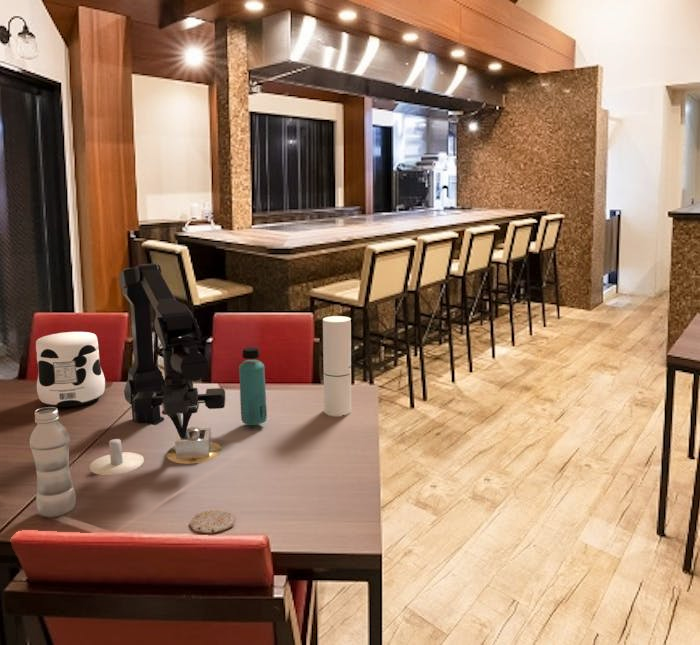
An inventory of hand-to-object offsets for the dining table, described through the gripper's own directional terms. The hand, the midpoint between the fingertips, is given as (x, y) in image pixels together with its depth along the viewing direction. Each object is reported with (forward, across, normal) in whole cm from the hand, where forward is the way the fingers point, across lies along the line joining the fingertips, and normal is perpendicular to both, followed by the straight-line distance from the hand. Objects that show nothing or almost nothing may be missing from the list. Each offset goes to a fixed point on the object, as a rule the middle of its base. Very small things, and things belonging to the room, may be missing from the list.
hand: (182, 437), depth 137 cm
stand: (+5, -14, -1) cm, 15 cm away
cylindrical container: (+6, +37, +25) cm, 45 cm away
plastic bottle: (+6, -21, -19) cm, 29 cm away
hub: (+5, +2, +3) cm, 6 cm away
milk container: (+6, -35, +44) cm, 57 cm away
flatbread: (+6, +8, -27) cm, 29 cm away
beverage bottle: (+6, +15, +18) cm, 24 cm away
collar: (+5, +2, +3) cm, 6 cm away
